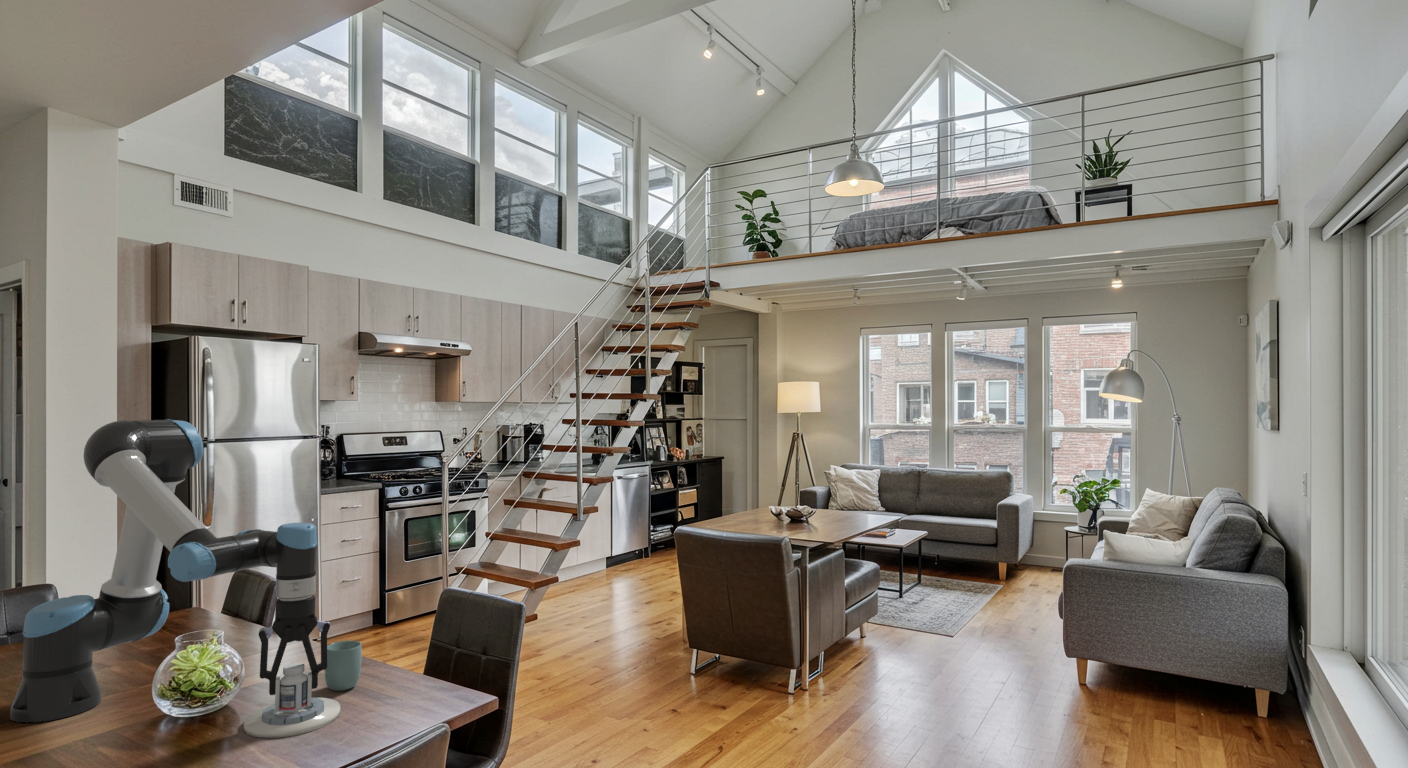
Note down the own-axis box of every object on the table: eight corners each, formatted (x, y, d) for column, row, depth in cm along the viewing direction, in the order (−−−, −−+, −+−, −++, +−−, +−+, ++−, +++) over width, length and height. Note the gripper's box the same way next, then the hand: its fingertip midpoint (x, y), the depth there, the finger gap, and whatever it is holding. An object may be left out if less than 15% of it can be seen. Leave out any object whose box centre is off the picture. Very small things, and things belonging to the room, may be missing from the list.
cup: (346, 695, 172) (347, 651, 173) (316, 692, 174) (317, 649, 174) (367, 683, 180) (368, 641, 180) (339, 681, 182) (340, 639, 182)
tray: (240, 745, 147) (240, 732, 147) (246, 712, 163) (247, 700, 163) (341, 727, 155) (342, 715, 155) (338, 697, 171) (339, 686, 171)
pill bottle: (301, 701, 163) (302, 660, 163) (311, 707, 159) (312, 665, 160) (274, 708, 159) (275, 666, 159) (285, 715, 155) (286, 671, 156)
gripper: (244, 605, 152) (241, 721, 152) (343, 595, 161) (341, 705, 160) (247, 597, 159) (244, 708, 158) (342, 588, 167) (340, 693, 167)
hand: (293, 706), depth 159 cm, fingers closed on pill bottle, 5 cm apart
